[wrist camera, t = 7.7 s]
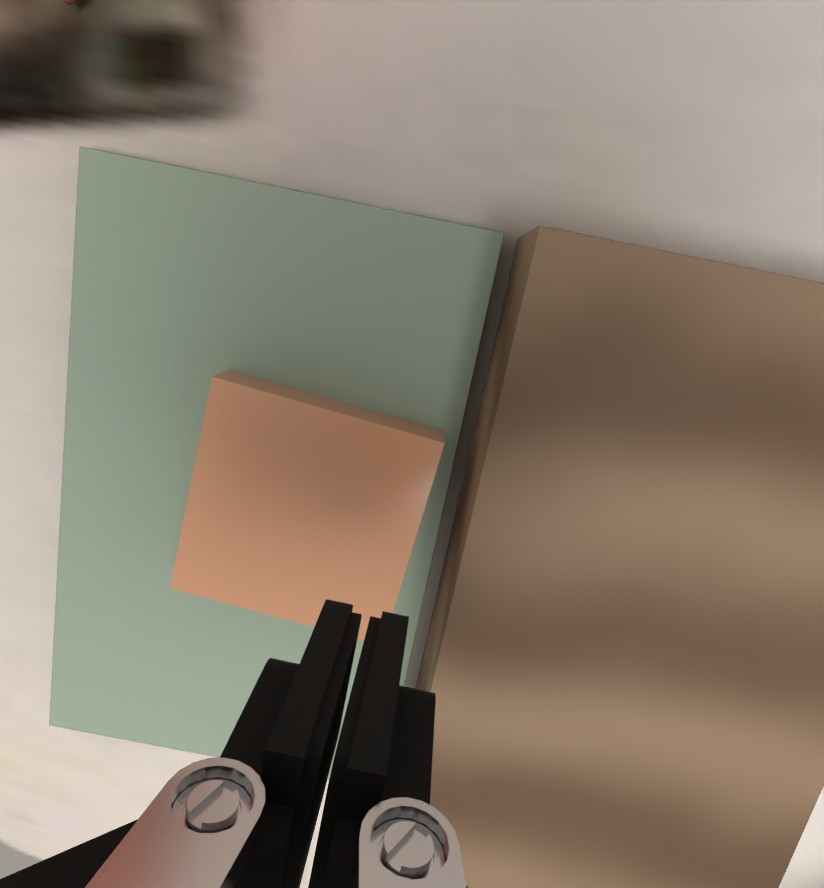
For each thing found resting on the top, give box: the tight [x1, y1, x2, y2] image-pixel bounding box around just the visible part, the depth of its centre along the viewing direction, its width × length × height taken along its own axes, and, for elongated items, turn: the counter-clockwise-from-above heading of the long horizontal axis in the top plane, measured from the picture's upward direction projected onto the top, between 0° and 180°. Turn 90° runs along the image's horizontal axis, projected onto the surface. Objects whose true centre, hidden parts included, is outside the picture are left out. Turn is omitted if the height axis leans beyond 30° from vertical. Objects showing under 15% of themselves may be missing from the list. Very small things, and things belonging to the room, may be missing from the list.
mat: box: [49, 147, 504, 779], centre depth 21 cm, size 20×12×1 cm, turn 169°
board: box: [416, 226, 824, 888], centre depth 19 cm, size 20×12×4 cm, turn 169°
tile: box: [170, 370, 445, 641], centre depth 20 cm, size 7×7×2 cm
